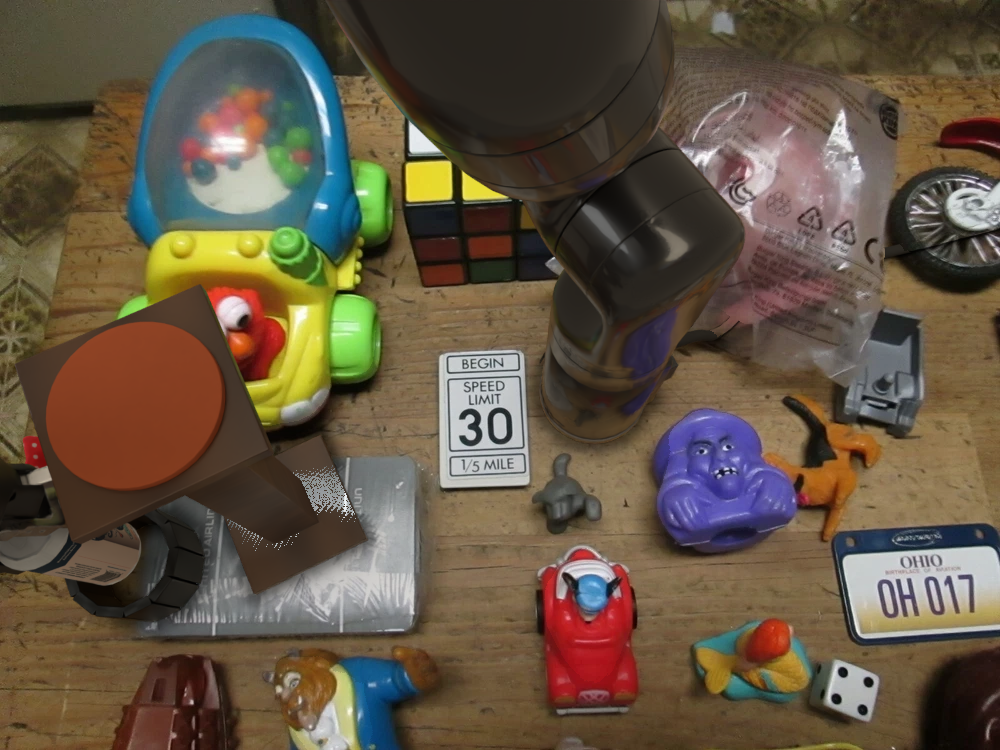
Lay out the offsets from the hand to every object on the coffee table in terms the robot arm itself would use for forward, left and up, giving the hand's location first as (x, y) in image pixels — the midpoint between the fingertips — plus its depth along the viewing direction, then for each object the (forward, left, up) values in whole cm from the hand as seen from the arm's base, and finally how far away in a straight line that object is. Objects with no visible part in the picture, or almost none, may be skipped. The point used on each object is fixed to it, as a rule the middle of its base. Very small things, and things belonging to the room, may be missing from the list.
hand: (61, 539), depth 55 cm
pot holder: (-12, +1, +16) cm, 20 cm away
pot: (0, 0, -15) cm, 15 cm away
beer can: (0, 0, -8) cm, 8 cm away
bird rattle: (+1, -7, -15) cm, 17 cm away
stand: (-12, +1, -15) cm, 19 cm away
